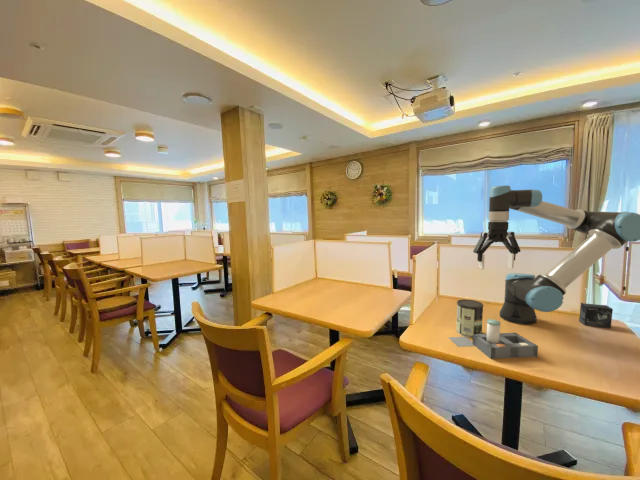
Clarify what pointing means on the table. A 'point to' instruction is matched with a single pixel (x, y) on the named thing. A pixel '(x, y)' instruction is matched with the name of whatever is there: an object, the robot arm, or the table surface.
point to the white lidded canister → (493, 331)
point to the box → (596, 315)
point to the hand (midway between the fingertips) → (495, 268)
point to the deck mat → (461, 341)
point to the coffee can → (469, 317)
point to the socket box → (506, 346)
